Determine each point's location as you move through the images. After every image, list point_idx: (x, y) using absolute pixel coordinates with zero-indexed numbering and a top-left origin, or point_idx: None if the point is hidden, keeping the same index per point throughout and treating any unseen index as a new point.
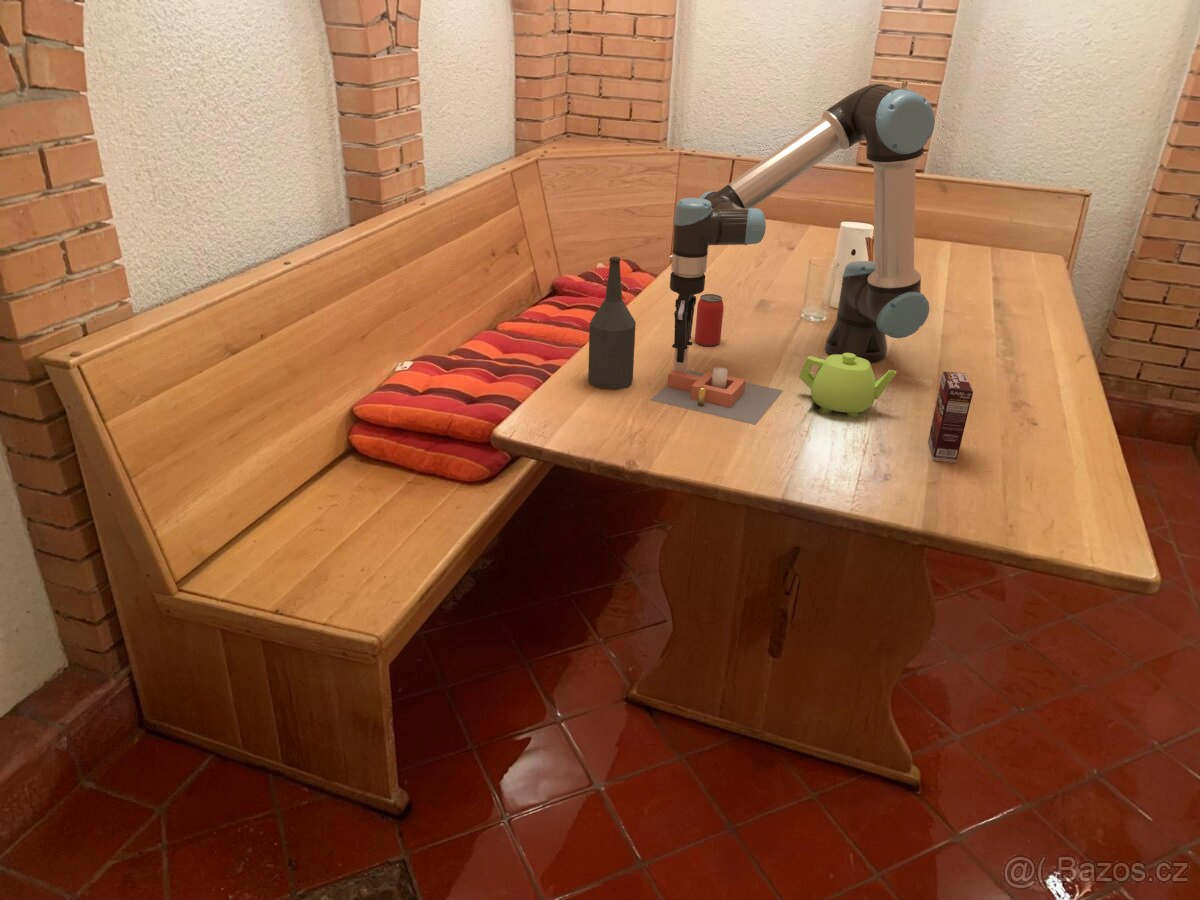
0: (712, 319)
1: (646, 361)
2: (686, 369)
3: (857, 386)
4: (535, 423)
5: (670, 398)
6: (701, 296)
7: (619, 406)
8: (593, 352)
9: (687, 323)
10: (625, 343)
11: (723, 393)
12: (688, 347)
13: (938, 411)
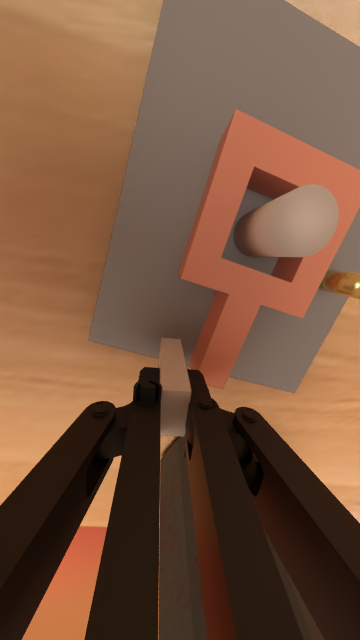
0: None
1: (40, 424)
2: (167, 343)
3: None
4: (351, 514)
5: (284, 353)
6: None
7: (289, 431)
8: None
9: (290, 610)
10: (305, 610)
11: (356, 210)
12: (164, 387)
13: None
